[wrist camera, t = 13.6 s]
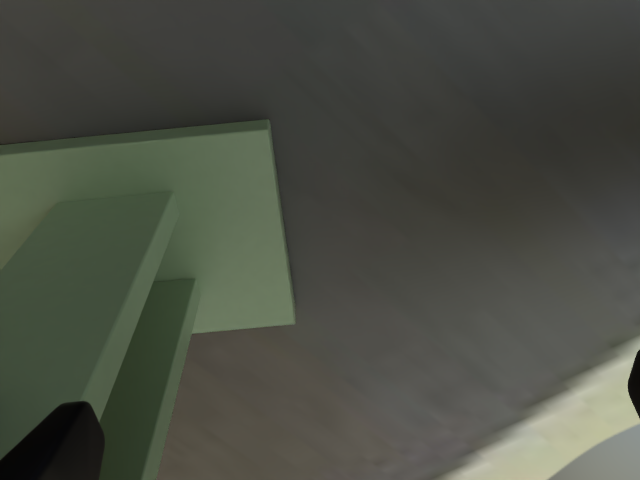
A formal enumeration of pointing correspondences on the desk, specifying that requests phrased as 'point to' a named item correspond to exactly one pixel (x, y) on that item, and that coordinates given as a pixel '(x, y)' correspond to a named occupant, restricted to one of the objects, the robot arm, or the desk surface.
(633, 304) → the desk surface
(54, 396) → the green lever stand
